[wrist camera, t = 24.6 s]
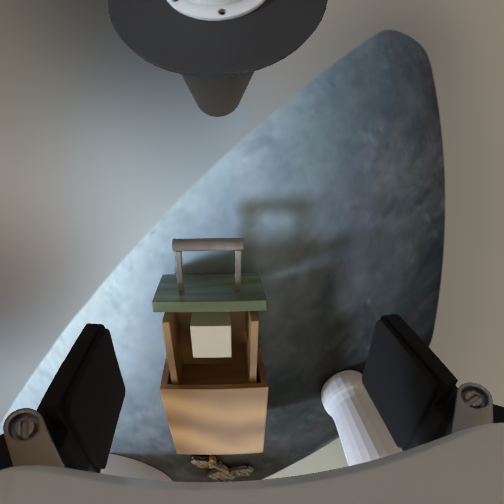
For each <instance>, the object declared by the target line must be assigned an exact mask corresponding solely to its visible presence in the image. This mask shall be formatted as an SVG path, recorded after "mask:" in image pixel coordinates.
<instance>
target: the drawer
mask: <svg viewBox="0 0 504 504" xmlns="http://www.w3.org/2000/svg"><path fill="white" fill-rule="evenodd" d="M172 249H173V251H175V258H176V272H177V275H162V278H161V280H160V283H159V285H158V288H157V291H156V293H155V296H154V298H153V301H152V305H153V311H154V312H165V313H164V317H163V321H162V326H163V333H164V340H165V346H166V352H167V358H168V364H169V370H170V376H171V381H172V385H228V384H252V383H256V379H257V355H258V330H259V320H258V315H257V311H264V310H266V309H267V299H266V296H265V293H264V290H263V286H262V283H261V280H260V277H259V274H258V273H253V274H241V250H243V249H244V239H243V238H204V239H173V241H172ZM215 250H235V274H190V275H183V266H182V251H215ZM192 312H230V318H231V349H232V357H218V358H193V350H192V341H191V330H190V324H191V316H192Z"/></svg>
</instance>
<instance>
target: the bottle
mask: <svg viewBox="0 0 504 504" xmlns="http://www.w3.org/2000/svg"><path fill="white" fill-rule="evenodd" d="M321 398H322V403H323V405H324V408H325V410H326V411H327V413H328V414H329V415H330V416H332V418H333V419H334V422H335V424H336V427H337V430H338V434H339V437H340V440H341V443H342V446H343V449H344V453H345V456H346V459H347V463H348V466H352V465H356V464H360V463H364V462H368V461H372V460H375V459H379V458H382V457H386V456H389V455H392V454H396V453H399V452H402V451H403V450H402V448H398V447H397V445H396V444H395V442H394V440H393V438H392V436H391V434H390V433H389V431H388V429H387V427H386V425H385V423H384V421H383V420H382V418H381V416H380V414H379V412H378V411H377V409H376V407H375V405H374V403H373V401H372V400H371V398H370V396H369V394H368V392H367V391H366V389H365V387H364V385H363V383H362V374H361V373H360V372H357V371H354V370H346V371H342V372H339V373H337V374H335V375H333V376H332V377H330V378H329V379H328V380H327V381H326V382H325V384H324V385H323V387H322V391H321Z"/></svg>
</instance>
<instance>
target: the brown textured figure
mask: <svg viewBox="0 0 504 504" xmlns="http://www.w3.org/2000/svg"><path fill="white" fill-rule="evenodd" d="M190 462H191V463H193V464H194V465H196V466H197V467H199V468H204V467H207V468H209V469H212V471H210V472H207V473H206V475H207V476H208V477H210V478H212V479H214V480H217V479H219V480H221V481H223V482H224V481H225V482H229V481H230V480H231V479H234V478H235V476H236V475H238V476H250V473H251V472H253V469H254V468H252V467H251V466H248V467H247V466H246V465H242V466H238V467H237V466H234V467H231V468H229V469H228V467H226V466H225V465H223V464H222V462H221V461H217V460H216V457H215V456H214V455H209V457H203V456H195V455H193V456H191V458H190ZM214 468H215V469H214ZM213 469H214V470H213ZM247 473H248V474H247Z"/></svg>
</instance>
